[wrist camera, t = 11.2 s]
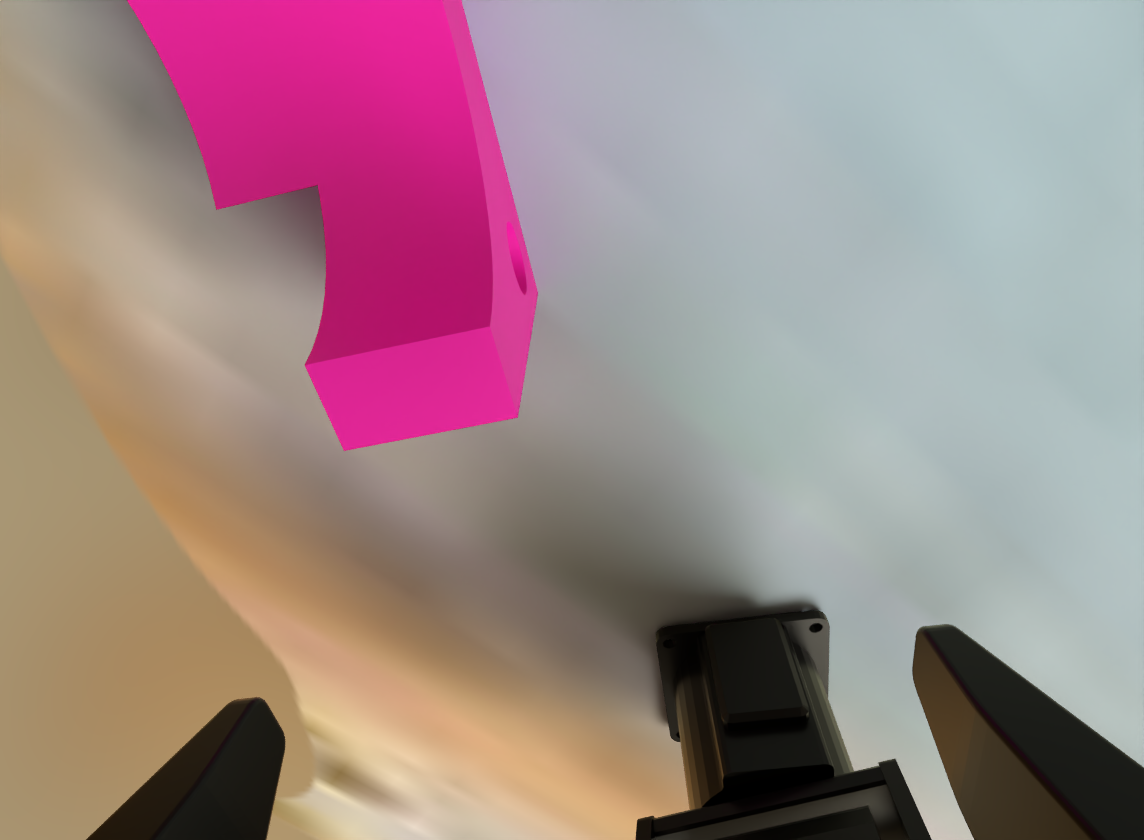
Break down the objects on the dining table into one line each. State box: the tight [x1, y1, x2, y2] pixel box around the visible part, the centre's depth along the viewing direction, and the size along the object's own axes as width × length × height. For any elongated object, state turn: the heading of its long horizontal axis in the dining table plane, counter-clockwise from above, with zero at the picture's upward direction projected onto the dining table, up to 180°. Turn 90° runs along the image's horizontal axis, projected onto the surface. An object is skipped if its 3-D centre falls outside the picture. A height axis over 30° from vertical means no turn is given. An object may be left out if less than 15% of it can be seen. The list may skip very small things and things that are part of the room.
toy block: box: [127, 0, 538, 451], centre depth 14 cm, size 15×6×8 cm, turn 13°
